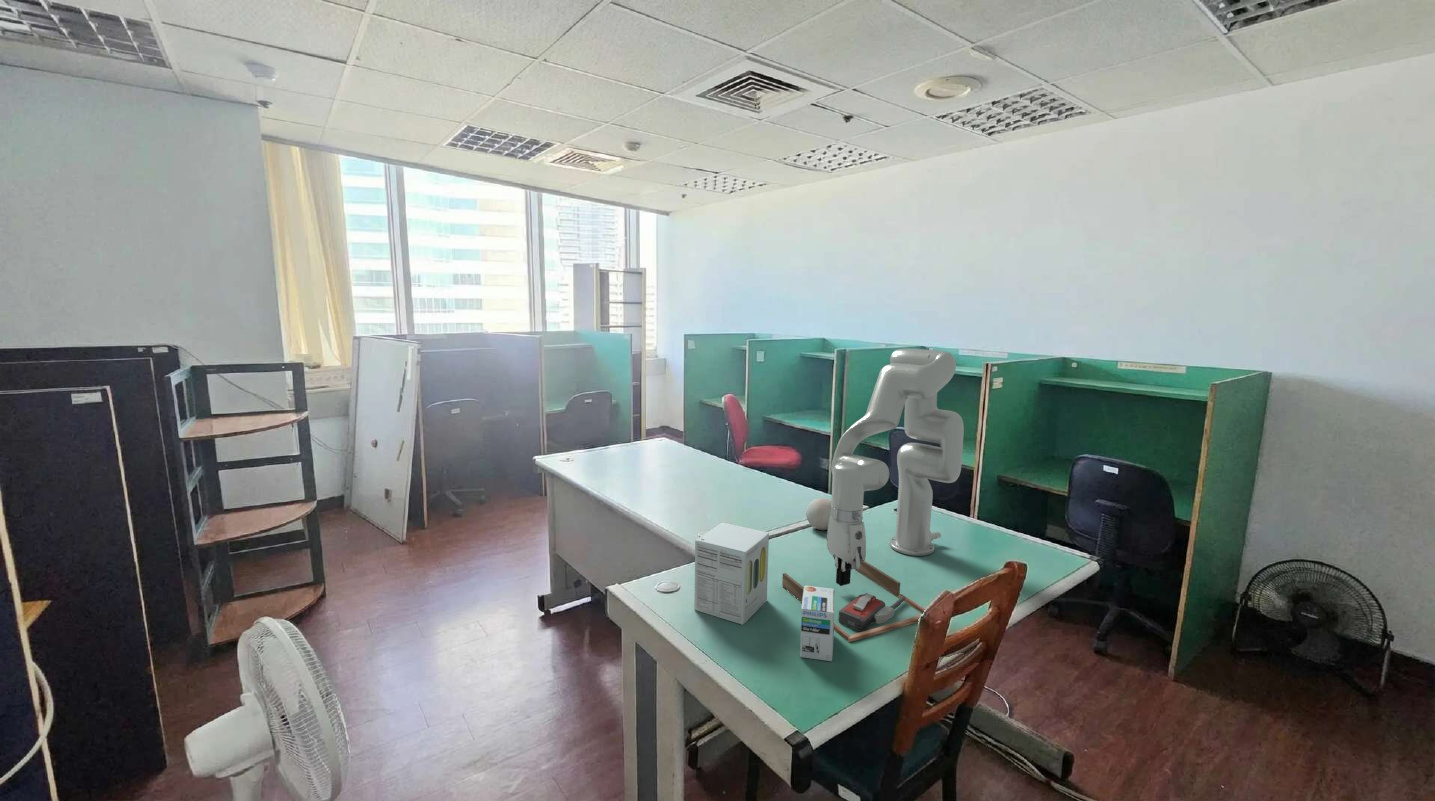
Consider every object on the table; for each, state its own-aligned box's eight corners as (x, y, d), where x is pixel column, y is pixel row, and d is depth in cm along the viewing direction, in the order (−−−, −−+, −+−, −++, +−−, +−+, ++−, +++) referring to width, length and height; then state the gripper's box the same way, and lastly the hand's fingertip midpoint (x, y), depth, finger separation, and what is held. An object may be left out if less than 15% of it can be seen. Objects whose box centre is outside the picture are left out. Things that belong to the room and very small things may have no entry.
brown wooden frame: (857, 569, 158) (858, 557, 157) (933, 617, 134) (934, 603, 133) (782, 586, 148) (782, 573, 147) (849, 642, 124) (850, 627, 123)
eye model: (834, 536, 180) (836, 505, 178) (802, 531, 183) (803, 501, 182) (839, 525, 189) (841, 496, 187) (809, 521, 193) (810, 492, 191)
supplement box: (743, 626, 129) (745, 552, 126) (693, 610, 136) (693, 539, 133) (768, 600, 141) (770, 532, 138) (720, 587, 147) (721, 521, 144)
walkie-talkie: (869, 639, 125) (907, 604, 140) (870, 620, 125) (909, 587, 139) (833, 624, 131) (874, 592, 146) (834, 606, 130) (875, 576, 145)
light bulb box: (832, 662, 117) (835, 613, 115) (798, 658, 118) (800, 609, 116) (833, 633, 127) (835, 587, 125) (801, 629, 128) (803, 584, 126)
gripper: (879, 521, 136) (875, 593, 140) (839, 501, 150) (836, 568, 153) (854, 526, 133) (850, 600, 136) (815, 505, 146) (812, 573, 149)
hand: (843, 583), depth 144 cm, fingers closed
